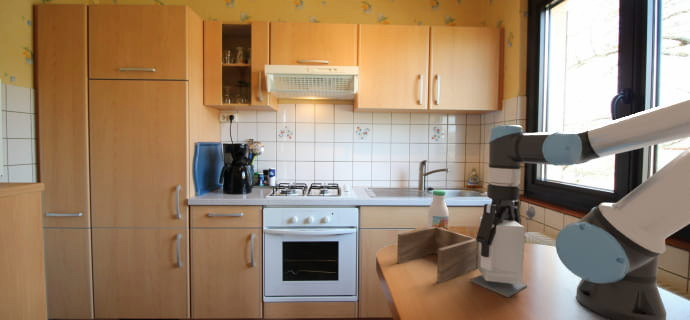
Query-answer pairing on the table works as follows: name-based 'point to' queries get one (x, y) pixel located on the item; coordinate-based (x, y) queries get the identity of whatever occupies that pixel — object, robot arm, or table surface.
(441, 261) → the wooden u-shaped frame
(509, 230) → the supplement box
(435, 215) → the milk bottle
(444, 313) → the table surface
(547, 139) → the robot arm
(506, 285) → the mat
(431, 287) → the table surface
